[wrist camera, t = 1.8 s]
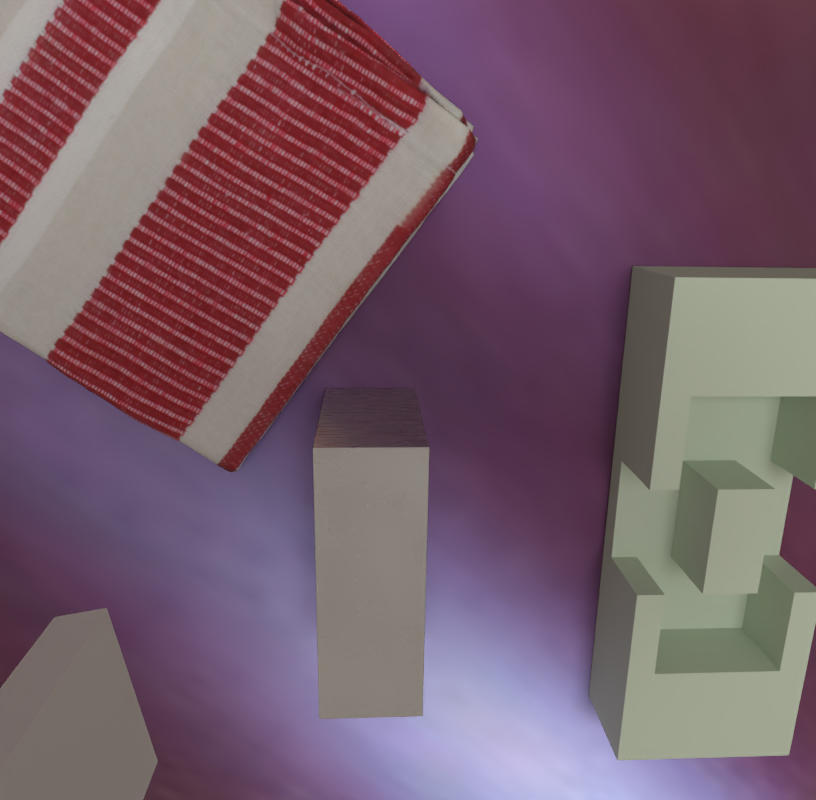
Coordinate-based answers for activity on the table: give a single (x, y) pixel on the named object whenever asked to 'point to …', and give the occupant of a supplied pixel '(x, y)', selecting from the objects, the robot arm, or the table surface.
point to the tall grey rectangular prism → (370, 552)
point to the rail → (707, 515)
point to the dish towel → (205, 197)
